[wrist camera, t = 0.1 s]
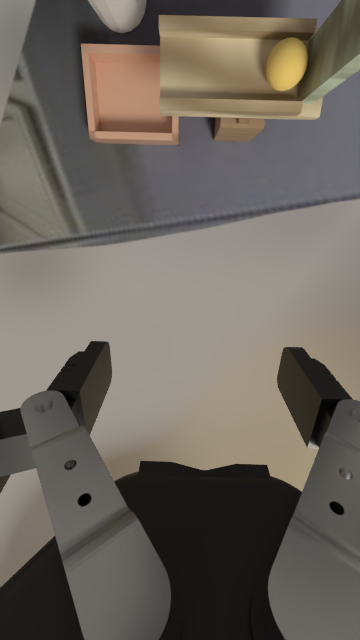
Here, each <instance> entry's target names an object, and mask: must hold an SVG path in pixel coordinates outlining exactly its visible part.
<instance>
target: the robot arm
mask: <svg viewBox="0 0 360 640" xmlns="http://www.w3.org/2000/svg"><path fill="white" fill-rule="evenodd" d="M111 378H112V367H111V356H110V346H109V343H108V342H102V341H101V342H100V341H91V342H90V344H89V345H88V347H87V348H86V350H85V351H84V352H77V353H76V354H75V355H73V356H72V357H70V358H69V360H68V361H67V362H66V364H65V366H64V367H63V368H62V369H61V372H59V373H58V375H57V376H56V378H55V379H54V380H53V382H52V383H51V385H50V386H49V388H48V389H47V391H43V392H39V393H37V394H34V395H32V396H31V397H29V398H28V399H26V400H25V401H24V402H23V404H22V406H21V408H18V409H13V410H9V411H3V412H0V493H1V491H2V489H3V487H4V486H5V484H6V482H7V480H8V478H9V477H10V475H11V474H14V473H18V472H22V471H26V470H30V469H34V468H37V472H38V476H39V479H40V483H41V487H42V490H43V494H44V497H45V501H46V504H47V508H48V511H49V515H50V519H51V522H52V526H53V529H54V533H55V536H54V537H53V538H52V539H51V540H50V541H49V542H48V543H47V544H46V545H45V546H44V547H43V548H41V549H40V550H39V551H38V552H37V553H36V554H35V555H34V556H33V557H32V558H31V559H30V560H29V561H28V562H27V563H26V564H25V565H24V566H23V567H22V568H21V569H19V570H18V571H17V572H16V573H15V574H14V575H13V576H12V577H11V578H10V579H9V580H8V581H7V582H6V583H5V584H4V585H3V586H2V587H1V588H0V640H360V401H357V400H353V399H352V398H351V397H350V396H349V394H348V393H347V392H346V391H345V389H344V388H343V387H342V386H341V385H340V383H339V382H338V381H336V379H335V377H334V376H333V375H332V374H331V373H330V371H329V370H328V369H327V368H326V366H325V365H323V364H322V363H320V362H319V361H317V360H316V359H311V358H310V356H309V355H308V354H307V352H306V351H305V350H304V349H303V348H301V347H300V348H299V347H285V348H284V349H283V352H282V356H281V361H280V366H279V371H278V376H277V383H278V388H279V390H280V392H281V394H282V396H283V399H284V401H285V403H286V405H287V407H288V409H289V411H290V413H291V415H292V417H293V419H294V421H295V423H296V426H297V428H298V430H299V432H300V434H301V436H302V438H303V440H304V442H305V444H306V446H307V448H319V450H318V453H317V455H316V458H315V461H314V463H313V466H312V468H311V471H310V473H309V476H308V478H307V481H306V484H305V486H304V489H303V491H302V492H301V491H300V490H298V489H297V488H295V487H294V486H292V485H290V484H288V483H286V482H284V481H282V480H280V479H277V478H274V477H271V476H270V474H269V470H268V467H267V465H251V464H234V465H230V466H225V467H220V468H215V469H211V470H199V469H195V468H192V467H188V466H184V465H181V464H177V463H173V462H156V461H141V462H140V467H139V472H135V473H132V474H129V475H126V476H124V477H122V478H119V479H118V480H116V481H114V480H113V479H112V477H111V475H110V473H109V471H108V469H107V467H106V465H105V464H104V462H103V460H102V458H101V456H100V454H99V453H98V451H97V449H96V447H95V445H94V443H93V441H92V439H91V437H90V433H91V431H92V428H93V426H94V423H95V421H96V418H97V416H98V413H99V411H100V408H101V406H102V403H103V400H104V398H105V396H106V393H107V391H108V388H109V386H110V383H111Z"/></svg>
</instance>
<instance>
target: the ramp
mask: <svg viewBox="0 0 360 640" xmlns="http://www.w3.org/2000/svg"><path fill="white" fill-rule="evenodd" d="M316 24H317V19H303V18H263V17H222V16H182V15H159V33H160V98H159V110H160V113H161V116H191V117H228V118H265V119H302V120H315V119H317V118H319V116H320V111H321V106H322V101H323V96H324V95H325V94H327V93H328V92H329V91H331V90H332V89H334V88H335V87H336V86H338V85H339V84H340V83H342V82H343V81H344V80H346V79H347V78H349V77H350V76H351V75H353V74H354V73H355V72H357V71H358V70H359V69H360V0H341V2H340V3H339V4H338V5H337V7H336V8H335V9H334V11H333V12H332V13H331V14H330V16H329V17H328V18H327V19H326V21H325V22H324V23H323V24H322V26H321V27H320V28H316ZM290 37H294V38H298V39H300V40H301V41H302V42H303V43H304V45H305V46H306V49H307V53H308V63H307V67H306V70H305V73H304V75H303V77H302V78H301V80H300V81H299V82H298V83H297V84H296V85H295V86H294V87H293V88H291V89H289V90H286V91H277V90H275V89H273V88H272V87H271V86H270V85H269V83H268V81H267V78H266V63H267V60H268V57H269V55H270V53H271V51H272V50H273V48H274V47H275V46H276V45H277V44H278V43H279V42H280V41H282V40H284V39H286V38H290Z"/></svg>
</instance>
